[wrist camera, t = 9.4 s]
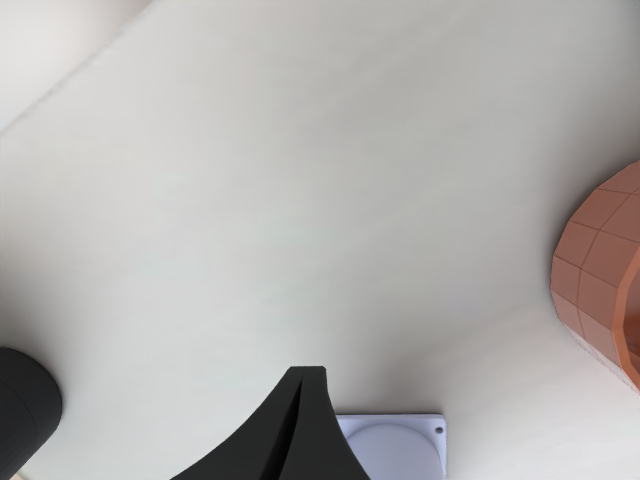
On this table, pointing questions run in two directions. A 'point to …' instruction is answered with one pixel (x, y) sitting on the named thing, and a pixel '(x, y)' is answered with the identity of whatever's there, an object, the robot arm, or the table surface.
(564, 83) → the table surface
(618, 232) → the bowl
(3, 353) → the pen holder
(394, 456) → the robot arm
